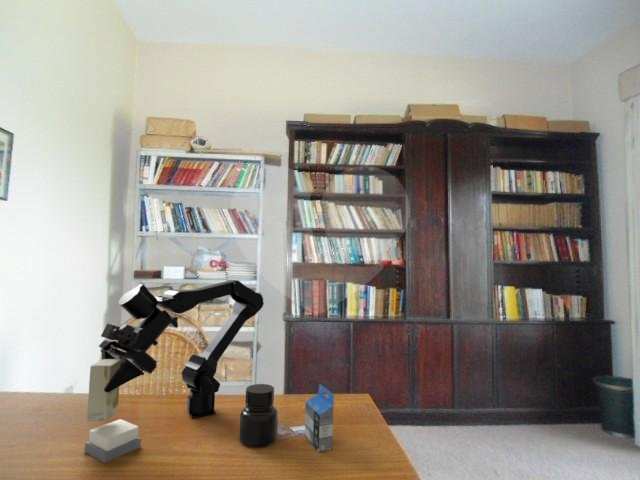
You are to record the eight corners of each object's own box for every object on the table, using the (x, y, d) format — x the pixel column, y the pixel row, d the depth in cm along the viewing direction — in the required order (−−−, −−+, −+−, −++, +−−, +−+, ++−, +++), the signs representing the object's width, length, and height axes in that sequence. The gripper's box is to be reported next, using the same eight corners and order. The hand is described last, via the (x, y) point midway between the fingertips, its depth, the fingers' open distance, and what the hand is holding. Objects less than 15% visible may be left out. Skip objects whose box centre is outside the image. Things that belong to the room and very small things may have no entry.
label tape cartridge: (303, 435, 90) (305, 384, 91) (317, 433, 91) (319, 383, 92) (318, 452, 82) (319, 396, 83) (333, 449, 83) (334, 394, 84)
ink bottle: (284, 435, 90) (286, 385, 91) (267, 452, 81) (269, 397, 82) (249, 428, 93) (251, 380, 94) (230, 444, 85) (232, 391, 85)
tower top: (119, 429, 86) (120, 419, 86) (137, 437, 82) (138, 426, 82) (88, 442, 80) (89, 430, 80) (106, 451, 76) (107, 439, 76)
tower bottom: (120, 439, 86) (121, 428, 86) (140, 449, 82) (141, 438, 82) (84, 454, 79) (85, 442, 80) (104, 465, 75) (105, 453, 75)
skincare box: (106, 422, 80) (110, 366, 80) (85, 423, 79) (89, 366, 80) (119, 410, 86) (122, 358, 87) (99, 411, 85) (102, 358, 86)
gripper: (109, 306, 93) (55, 359, 83) (145, 314, 81) (87, 376, 72) (139, 333, 98) (91, 385, 89) (176, 344, 87) (127, 405, 78)
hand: (98, 387), depth 82 cm, fingers closed on skincare box, 7 cm apart
